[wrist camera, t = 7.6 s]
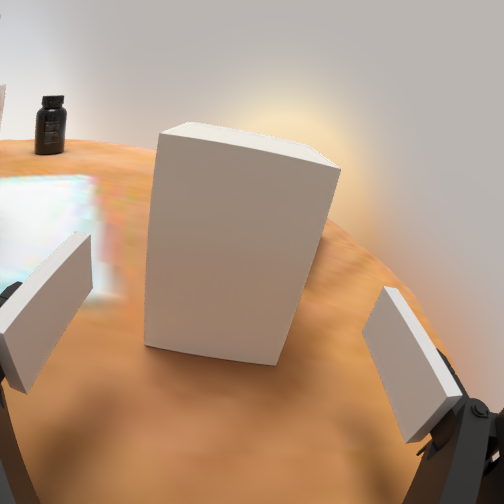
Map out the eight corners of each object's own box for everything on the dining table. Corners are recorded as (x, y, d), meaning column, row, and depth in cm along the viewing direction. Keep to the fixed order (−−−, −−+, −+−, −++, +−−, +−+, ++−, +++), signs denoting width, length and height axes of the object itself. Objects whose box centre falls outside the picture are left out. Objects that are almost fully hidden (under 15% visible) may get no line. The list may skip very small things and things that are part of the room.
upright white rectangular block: (275, 365, 19) (341, 169, 13) (144, 344, 18) (159, 133, 13) (267, 293, 26) (307, 144, 21) (168, 276, 25) (189, 121, 20)
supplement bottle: (68, 149, 58) (74, 95, 53) (56, 155, 52) (61, 96, 47) (42, 148, 56) (47, 95, 51) (28, 154, 50) (32, 96, 45)
